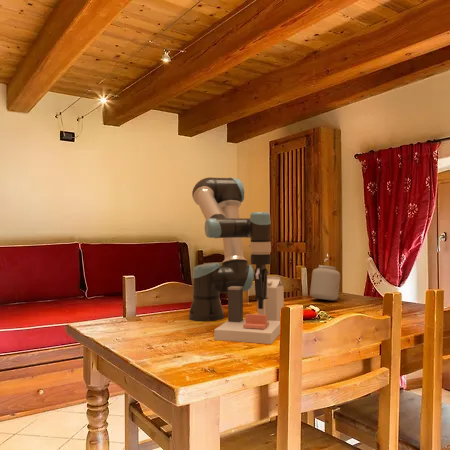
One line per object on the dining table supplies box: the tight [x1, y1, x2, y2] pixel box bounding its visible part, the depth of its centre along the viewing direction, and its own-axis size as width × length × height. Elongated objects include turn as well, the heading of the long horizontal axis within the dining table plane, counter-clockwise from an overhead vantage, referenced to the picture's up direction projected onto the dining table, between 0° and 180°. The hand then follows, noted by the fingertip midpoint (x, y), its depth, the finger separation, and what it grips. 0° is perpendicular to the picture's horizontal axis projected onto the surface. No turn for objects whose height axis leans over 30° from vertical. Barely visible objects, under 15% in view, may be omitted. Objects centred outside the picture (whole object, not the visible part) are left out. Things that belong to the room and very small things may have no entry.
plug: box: [227, 286, 244, 322], centre depth 162 cm, size 4×4×13 cm
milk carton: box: [265, 275, 285, 321], centre depth 173 cm, size 7×7×19 cm
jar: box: [309, 254, 341, 301], centre depth 229 cm, size 19×15×25 cm
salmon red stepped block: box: [243, 313, 269, 329], centre depth 151 cm, size 8×8×4 cm
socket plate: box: [213, 318, 281, 345], centre depth 154 cm, size 20×20×4 cm
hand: (261, 317), depth 159 cm, fingers closed
